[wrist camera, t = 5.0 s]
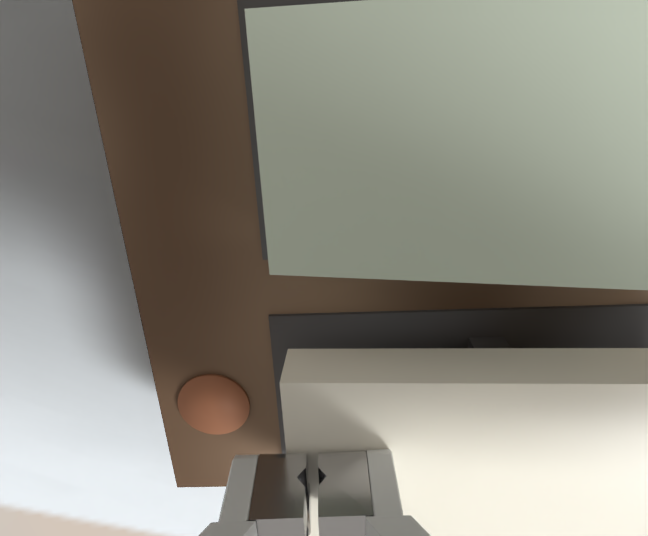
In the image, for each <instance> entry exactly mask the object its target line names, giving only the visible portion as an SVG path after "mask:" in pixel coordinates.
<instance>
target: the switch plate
mask: <svg viewBox="0 0 648 536" xmlns="http://www.w3.org/2000/svg"><path fill="white" fill-rule="evenodd" d="M348 1H362V0H72V2H73V7H74V11H75V16H76V21H77V25H78V30H79V34H80V39H81V44H82V48H83V53H84V58H85V62H86V67H87V71H88V76H89V81H90V85H91V90H92V95H93V99H94V104H95V108H96V113H97V118H98V122H99V127H100V132H101V136H102V141H103V145H104V150H105V155H106V159H107V164H108V169H109V173H110V178H111V182H112V187H113V192H114V196H115V201H116V206H117V210H118V215H119V219H120V224H121V229H122V233H123V238H124V243H125V247H126V252H127V256H128V261H129V266H130V270H131V275H132V280H133V284H134V289H135V293H136V298H137V303H138V307H139V312H140V317H141V321H142V326H143V330H144V335H145V340H146V344H147V349H148V354H149V358H150V363H151V367H152V372H153V377H154V381H155V386H156V391H157V395H158V400H159V404H160V409H161V414H162V418H163V423H164V428H165V432H166V437H167V442H168V446H169V451H170V455H171V460H172V465H173V469H174V474H175V479H176V483H177V487H219V486H227V482H228V477H229V473H230V468H231V464H232V460H233V458H234V457H235V455H260V454H286V446H285V435H284V425H283V414H282V404H281V393H280V379H281V375H282V371H283V366H284V362H285V358H286V354H287V350H288V349H381V348H648V290H627V289H603V288H579V287H555V286H530V285H506V284H482V283H458V282H433V281H409V280H385V279H361V278H337V277H312V276H288V275H270V274H269V264H268V253H267V242H266V232H265V221H264V211H263V200H262V190H261V179H260V169H259V158H258V147H257V137H256V126H255V116H254V105H253V95H252V84H251V73H250V63H249V52H248V42H247V31H246V21H245V10H244V9H248V8H262V7H277V6H291V5H305V4H319V3H334V2H348Z"/></svg>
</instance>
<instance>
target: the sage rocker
mask: <svg viewBox="0 0 648 536" xmlns="http://www.w3.org/2000/svg"><path fill="white" fill-rule="evenodd" d="M244 10H245V21H246V31H247V42H248V52H249V63H250V73H251V84H252V95H253V105H254V116H255V126H256V137H257V147H258V158H259V169H260V179H261V190H262V200H263V211H264V221H265V232H266V242H267V253H268V264H269V274H270V275H288V276H312V277H337V278H361V279H385V280H409V281H433V282H458V283H482V284H506V285H530V286H555V287H579V288H603V289H627V290H648V0H362V1H348V2H334V3H319V4H305V5H291V6H277V7H262V8H248V9H244Z"/></svg>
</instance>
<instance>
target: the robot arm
mask: <svg viewBox="0 0 648 536" xmlns="http://www.w3.org/2000/svg"><path fill="white" fill-rule="evenodd" d="M318 473H319V486H318V525H319V536H431V535H430V534H429V533H428V532H427V531H426V530H425V529H424V528H423V527H422V526H421V525H420V524H419V523H418V522H417V521H416V520H415V519H414V518H413V517H412V516H411V515H403V509H402V504H401V499H400V493H399V488H398V482H397V477H396V471H395V466H394V460H393V455H392V452H391V450H390V449H377V450H366V451H365V450H361V451H340V452H320V453H319V455H318ZM310 533H311V497H310V483H309V482H308V458H307V453H291V454H260V455H235V457H234V458H233V460H232V464H231V468H230V473H229V477H228V482H227V486H226V490H225V495H224V499H223V504H222V508H221V513H220V517H219V521H218V522H215V523H210V524H209V525H208V526H207V527H206V528H205V529H204V530H203V531H202V533H201V534H200V535H199V536H309V534H310Z"/></svg>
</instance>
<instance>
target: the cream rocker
mask: <svg viewBox="0 0 648 536" xmlns="http://www.w3.org/2000/svg"><path fill="white" fill-rule="evenodd" d="M280 393H281V404H282V414H283V425H284V435H285V446H286V454H291V453H307V458H308V482H309V483H310V497H311V533H310V534H309V536H319V525H318V486H319V473H318V455H319V453H320V452H340V451H361V450H365V451H366V450H377V449H390V450H391V452H392V455H393V460H394V466H395V471H396V477H397V482H398V488H399V493H400V499H401V504H402V509H403V515H411V516H412V517H413V518H414V519H415V520H416V521H417V522H418V523H419V524H420V525H421V526H422V527H423V528H424V529H425V530H426V531H427V532H428V533H429V534H430V535H431V536H648V348H381V349H288V350H287V354H286V358H285V362H284V366H283V371H282V375H281V379H280Z"/></svg>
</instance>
